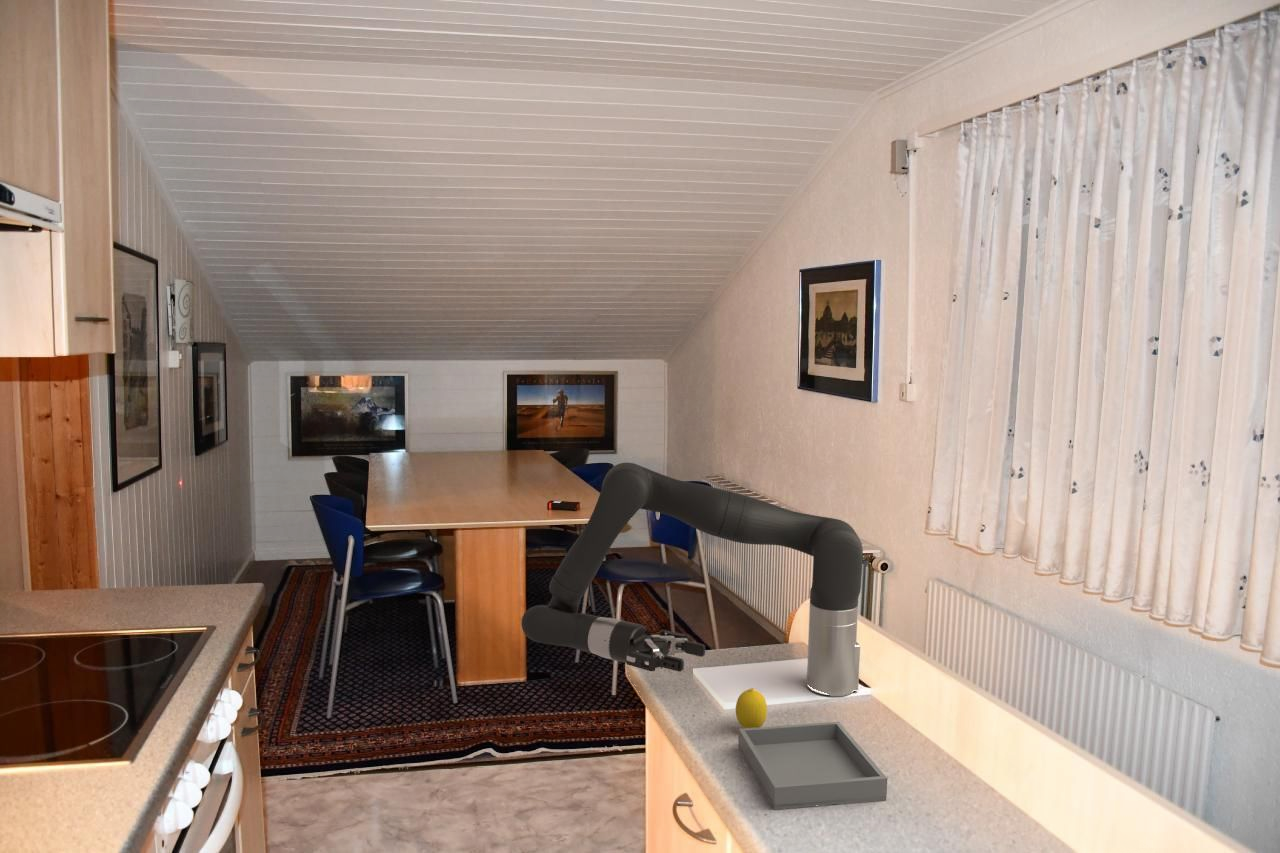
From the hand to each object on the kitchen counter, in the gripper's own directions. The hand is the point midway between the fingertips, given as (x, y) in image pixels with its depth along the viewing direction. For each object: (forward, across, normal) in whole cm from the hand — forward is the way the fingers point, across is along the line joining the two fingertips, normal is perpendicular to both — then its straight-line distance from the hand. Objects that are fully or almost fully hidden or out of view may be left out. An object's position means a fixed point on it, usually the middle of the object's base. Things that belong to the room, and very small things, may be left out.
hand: (693, 658), depth 179 cm
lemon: (+12, 0, +11) cm, 16 cm away
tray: (+26, -9, +11) cm, 29 cm away
